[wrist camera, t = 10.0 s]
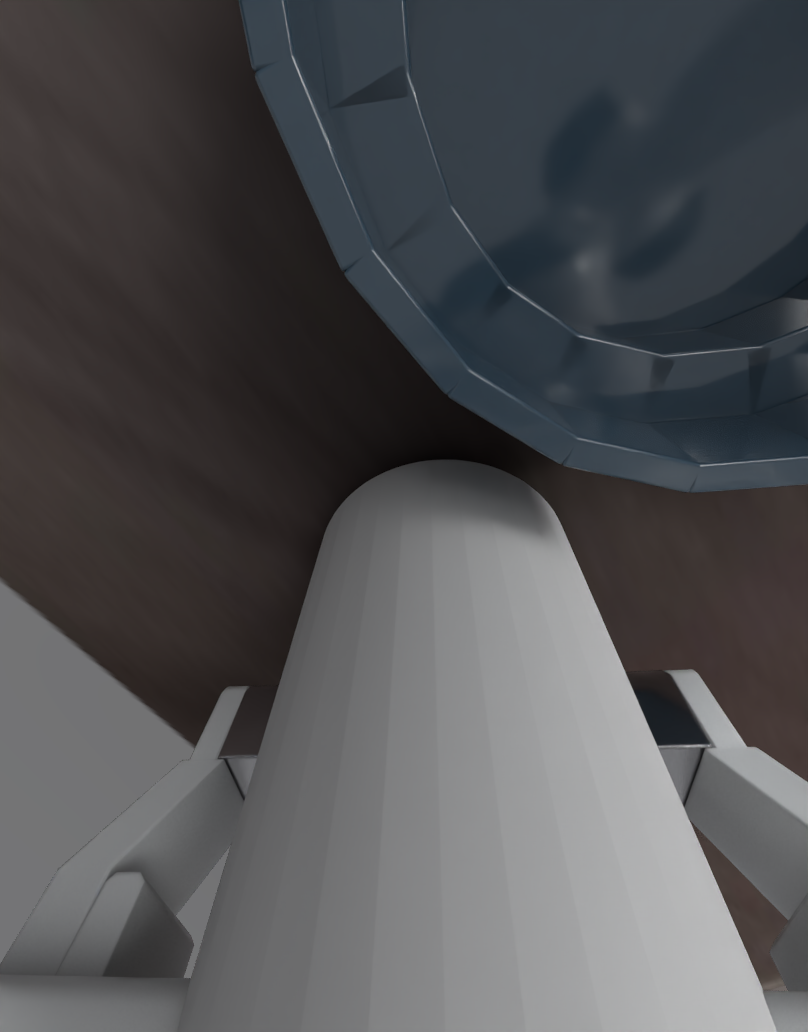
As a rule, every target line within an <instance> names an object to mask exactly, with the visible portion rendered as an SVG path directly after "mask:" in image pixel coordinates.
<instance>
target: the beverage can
mask: <svg viewBox="0 0 808 1032" xmlns="http://www.w3.org/2000/svg"><path fill="white" fill-rule="evenodd" d="M177 1032H777V1030H776V1028H775V1025H774V1023H773V1020H772V1017H771V1015H770V1012H769V1009H768V1007H767V1004H766V1001H765V998H764V995H763V989H762V987H761V984H760V982H759V980H758V977H757V975H756V973H755V970H754V968H753V966H752V964H751V961H750V959H749V957H748V954H747V952H746V950H745V947H744V945H743V943H742V940H741V938H740V936H739V934H738V931H737V929H736V927H735V924H734V922H733V920H732V917H731V915H730V913H729V910H728V908H727V906H726V904H725V901H724V899H723V897H722V894H721V892H720V890H719V887H718V885H717V883H716V880H715V878H714V876H713V874H712V871H711V869H710V867H709V864H708V862H707V860H706V857H705V855H704V853H703V850H702V848H701V846H700V844H699V841H698V839H697V837H696V834H695V832H694V830H693V827H692V825H691V823H690V821H689V818H688V816H687V814H686V811H685V809H684V807H683V804H682V802H681V800H680V797H679V795H678V793H677V791H676V788H675V786H674V784H673V781H672V779H671V777H670V774H669V772H668V770H667V767H666V765H665V763H664V761H663V758H662V756H661V754H660V751H659V749H658V747H657V744H656V742H655V740H654V737H653V735H652V733H651V731H650V728H649V726H648V724H647V721H646V719H645V717H644V714H643V712H642V710H641V707H640V705H639V703H638V701H637V698H636V696H635V694H634V691H633V689H632V687H631V684H630V682H629V680H628V677H627V675H626V673H625V671H624V668H623V666H622V664H621V661H620V659H619V657H618V654H617V652H616V650H615V647H614V645H613V643H612V641H611V638H610V636H609V634H608V631H607V629H606V627H605V624H604V622H603V620H602V617H601V615H600V613H599V611H598V608H597V606H596V604H595V601H594V599H593V597H592V594H591V592H590V590H589V587H588V585H587V583H586V581H585V578H584V576H583V574H582V571H581V569H580V567H579V564H578V562H577V560H576V558H575V555H574V553H573V551H572V548H571V546H570V544H569V541H568V539H567V537H566V534H565V532H564V530H563V528H562V525H561V523H560V521H559V519H558V518H557V516H556V514H555V512H554V511H553V509H552V508H551V506H550V505H549V504H548V503H547V502H546V501H545V499H544V498H543V497H542V496H541V495H540V494H539V493H538V492H537V491H536V490H534V489H533V488H532V487H530V486H529V485H528V484H527V483H525V482H524V481H522V480H520V479H519V478H517V477H515V476H513V475H511V474H509V473H507V472H505V471H502V470H500V469H497V468H494V467H492V466H488V465H484V464H481V463H476V462H470V461H463V460H428V461H421V462H416V463H411V464H407V465H403V466H400V467H397V468H394V469H391V470H389V471H386V472H384V473H382V474H380V475H378V476H376V477H374V478H372V479H371V480H369V481H367V482H366V483H364V484H363V485H362V486H360V487H359V488H358V489H356V490H355V491H354V492H353V493H352V494H351V495H349V496H348V497H347V498H346V500H345V501H344V502H343V503H342V504H341V505H340V507H339V508H338V509H337V510H336V512H335V513H334V515H333V517H332V519H331V520H330V522H329V524H328V526H327V528H326V531H325V534H324V537H323V540H322V544H321V547H320V550H319V554H318V557H317V560H316V564H315V567H314V570H313V574H312V577H311V580H310V584H309V587H308V590H307V594H306V597H305V600H304V604H303V607H302V610H301V614H300V617H299V620H298V624H297V627H296V630H295V634H294V637H293V640H292V644H291V647H290V650H289V654H288V657H287V660H286V664H285V667H284V670H283V673H282V677H281V680H280V683H279V687H278V690H277V693H276V697H275V700H274V703H273V707H272V710H271V713H270V717H269V720H268V723H267V727H266V730H265V733H264V737H263V740H262V743H261V747H260V750H259V753H258V757H257V760H256V763H255V767H254V770H253V773H252V777H251V780H250V783H249V787H248V790H247V793H246V797H245V800H244V803H243V807H242V810H241V813H240V817H239V820H238V823H237V827H236V830H235V833H234V837H233V840H232V843H231V847H230V850H229V853H228V857H227V860H226V863H225V867H224V870H223V873H222V877H221V880H220V883H219V887H218V890H217V893H216V897H215V900H214V903H213V906H212V910H211V913H210V917H209V920H208V923H207V927H206V930H205V933H204V936H203V940H202V943H201V946H200V950H199V953H198V956H197V960H196V963H195V967H194V970H193V973H192V976H191V980H190V983H189V987H188V991H187V995H186V1000H185V1004H184V1007H183V1011H182V1015H181V1018H180V1022H179V1026H178V1030H177Z"/></svg>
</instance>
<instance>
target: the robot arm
mask: <svg viewBox="0 0 808 1032" xmlns="http://www.w3.org/2000/svg"><path fill="white" fill-rule="evenodd" d="M625 673H626V675H627V677H628V680H629V682H630V684H631V687H632V689H633V691H634V694H635V696H636V698H637V701H638V703H639V705H640V707H641V710H642V712H643V714H644V717H645V719H646V721H647V724H648V726H649V728H650V731H651V733H652V735H653V737H654V740H655V742H656V744H657V747H658V749H659V751H660V754H661V756H662V758H663V761H664V763H665V765H666V767H667V770H668V772H669V774H670V777H671V779H672V781H673V784H674V786H675V788H676V791H677V793H678V795H679V797H680V800H681V802H682V804H683V807H684V809H685V811H686V814H687V816H688V818H689V820H690V821H691V822H692V823H693V824H694V825H695V826H696V827H697V828H698V829H699V830H700V831H701V832H702V833H703V834H704V835H705V836H706V837H707V838H708V839H709V840H710V841H711V842H712V843H713V844H714V845H715V846H716V847H717V848H718V849H719V850H720V851H721V852H722V853H723V854H724V855H725V856H726V857H727V858H728V859H729V860H730V861H731V862H732V863H733V864H734V865H735V867H736V868H737V869H738V870H739V871H740V872H741V873H742V874H743V875H744V876H745V877H746V878H747V879H748V880H749V881H750V882H751V883H752V884H753V885H754V886H755V887H756V888H757V889H758V890H759V891H760V892H761V893H762V894H763V895H764V896H765V897H766V898H767V899H768V900H769V901H770V902H771V903H772V904H773V905H774V906H775V907H776V908H777V909H778V910H779V911H780V912H781V913H782V914H783V915H784V916H785V917H786V918H787V919H788V922H787V924H786V925H785V927H784V928H783V929H782V931H781V932H780V934H779V935H778V937H777V938H776V940H775V941H774V942H773V945H772V947H771V950H770V952H769V953H770V955H771V957H772V959H773V961H774V963H775V965H776V967H777V969H778V971H779V973H780V975H781V977H782V979H783V981H784V983H785V986H786V988H787V990H788V991H766V990H763V995H764V998H765V1001H766V1004H767V1007H768V1009H769V1012H770V1015H771V1017H772V1020H773V1023H774V1025H775V1028H776V1030H777V1032H808V782H806V781H805V780H804V779H802V778H801V777H799V776H798V775H796V774H795V773H793V772H792V771H790V770H789V769H787V768H786V767H785V766H783V765H782V764H780V763H779V762H777V761H776V760H774V759H773V758H771V757H770V756H768V755H767V754H765V753H764V752H763V751H761V750H760V749H758V748H757V747H747V746H746V745H745V743H744V742H743V740H742V739H741V737H740V736H739V734H738V733H737V731H736V730H735V728H734V727H733V725H732V724H731V722H730V721H729V719H728V718H727V716H726V715H725V713H724V712H723V710H722V709H721V707H720V706H719V704H718V703H717V701H716V700H715V698H714V697H713V695H712V694H711V692H710V691H709V689H708V688H707V686H706V685H705V683H704V682H703V680H702V679H701V677H700V676H699V674H698V673H697V672H695V671H694V670H692V669H689V670H665V671H662V670H654V671H634V672H625ZM278 687H279V685H272V686H228V687H227V688H226V689H225V690H224V691H223V692H222V693H221V695H220V697H219V699H218V701H217V703H216V705H215V707H214V709H213V712H212V714H211V716H210V718H209V720H208V722H207V724H206V726H205V728H204V730H203V732H202V735H201V737H200V739H199V741H198V743H197V745H196V747H195V749H194V751H193V754H192V756H191V758H190V760H182V761H181V762H180V763H179V764H177V765H176V766H175V767H174V768H173V769H172V770H171V771H169V772H168V773H167V774H166V775H165V776H164V777H163V778H161V779H160V780H159V781H158V782H157V783H156V784H155V785H154V786H152V787H151V788H150V789H149V790H148V791H147V792H146V793H144V794H143V795H142V796H141V797H140V798H139V799H137V801H135V802H134V803H133V804H132V805H131V806H130V807H128V808H127V809H126V810H125V811H124V812H123V813H122V814H120V815H119V816H118V817H117V818H116V819H115V820H113V821H112V822H111V823H110V824H109V825H108V826H107V827H105V828H104V829H103V830H102V831H101V832H100V833H99V834H97V835H96V836H95V837H94V838H93V839H92V840H91V841H89V842H88V843H87V844H86V845H85V846H84V847H83V848H81V849H80V850H79V851H78V852H77V853H76V854H75V855H73V856H72V857H71V858H70V859H69V860H68V861H67V862H65V864H63V865H62V866H61V867H60V868H59V869H58V870H57V872H56V873H55V875H54V877H53V878H52V880H51V882H50V883H49V885H48V886H47V888H46V890H45V891H44V893H43V895H42V896H41V898H40V900H39V901H38V903H37V905H36V906H35V908H34V909H33V911H32V913H31V914H30V916H29V918H28V919H27V921H26V923H25V924H24V926H23V928H22V929H21V931H20V933H19V934H18V936H17V938H16V939H15V941H14V943H13V944H12V946H11V947H10V949H9V951H8V952H7V954H6V956H5V957H4V959H3V961H2V962H1V964H0V1032H177V1030H178V1026H179V1022H180V1018H181V1015H182V1011H183V1007H184V1004H185V1000H186V995H187V991H188V987H189V983H190V980H191V978H183V977H184V974H185V971H186V968H187V965H188V962H189V959H190V956H191V953H192V949H193V946H194V943H193V940H192V937H191V935H190V934H189V932H188V931H187V930H186V929H185V927H184V926H183V925H182V924H181V922H180V921H179V920H178V919H177V917H176V915H177V913H178V912H179V911H180V910H181V908H182V907H183V906H184V905H185V903H186V902H187V901H188V899H189V898H190V897H191V895H192V894H193V893H194V892H195V890H196V889H197V888H198V886H199V885H200V884H201V883H202V881H203V880H204V879H205V878H206V876H207V875H208V874H209V872H210V871H211V870H212V869H213V867H214V866H215V865H216V863H217V862H218V861H219V859H220V858H221V857H222V855H223V854H224V853H225V852H226V851H227V849H228V848H229V846H230V845H231V843H232V840H233V837H234V833H235V830H236V827H237V823H238V820H239V817H240V813H241V810H242V807H243V803H244V800H245V797H246V793H247V790H248V787H249V783H250V780H251V777H252V773H253V770H254V767H255V763H256V760H257V757H258V753H259V750H260V747H261V743H262V740H263V737H264V733H265V730H266V727H267V723H268V720H269V717H270V713H271V710H272V707H273V703H274V700H275V697H276V693H277V690H278Z"/></svg>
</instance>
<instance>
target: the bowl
mask: <svg viewBox="0 0 808 1032" xmlns="http://www.w3.org/2000/svg"><path fill="white" fill-rule="evenodd" d="M238 3H239V8H240V13H241V18H242V23H243V28H244V33H245V38H246V43H247V49H248V54H249V59H250V64H251V67H252V69H253V71H254V72H255V73H256V74H255V79H256V83H257V85H258V87H259V90H260V92H261V94H262V96H263V99H264V101H265V103H266V105H267V107H268V110H269V112H270V114H271V116H272V119H273V121H274V123H275V125H276V128H277V130H278V132H279V134H280V136H281V139H282V141H283V143H284V145H285V148H286V150H287V152H288V154H289V156H290V159H291V161H292V163H293V165H294V168H295V170H296V172H297V174H298V177H299V179H300V181H301V183H302V185H303V188H304V190H305V192H306V194H307V197H308V199H309V201H310V203H311V206H312V208H313V210H314V212H315V214H316V217H317V219H318V221H319V223H320V226H321V228H322V230H323V232H324V235H325V237H326V239H327V241H328V243H329V246H330V248H331V250H332V252H333V255H334V257H335V259H336V261H337V264H338V266H339V268H340V269H341V270H342V271H345V273H344V275H345V278H346V279H347V280H348V281H349V282H350V284H351V285H352V286H353V287H354V288H355V290H356V291H357V292H358V293H359V294H360V295H361V297H362V298H363V299H364V300H365V301H366V303H367V304H368V305H369V306H370V307H371V308H372V310H373V311H374V312H375V313H376V314H377V316H378V317H379V318H380V319H381V320H382V321H383V323H384V324H385V325H386V326H387V327H388V329H389V330H390V331H391V332H392V333H393V334H394V336H395V337H396V338H397V339H398V340H399V342H400V343H401V344H402V345H403V346H404V347H405V349H406V350H407V351H408V352H409V353H410V355H411V356H412V357H413V358H414V359H415V360H416V362H417V363H418V364H419V365H420V366H421V367H422V369H423V370H424V371H425V372H426V373H427V375H428V376H429V377H430V378H431V379H432V380H433V382H434V383H435V384H436V385H437V386H438V388H439V389H440V390H441V391H442V392H443V393H445V394H447V396H448V397H449V398H450V399H451V400H453V401H455V402H456V403H458V404H460V405H461V406H463V407H465V408H466V409H468V410H470V411H471V412H473V413H475V414H476V415H478V416H480V417H481V418H483V419H485V420H486V421H488V422H490V423H491V424H493V425H494V426H496V427H498V428H499V429H501V430H503V431H504V432H506V433H508V434H509V435H511V436H513V437H514V438H516V439H518V440H519V441H521V442H523V443H524V444H526V445H528V446H529V447H531V448H533V449H534V450H536V451H538V452H539V453H541V454H543V455H544V456H546V457H547V458H549V459H551V460H552V461H554V462H556V463H558V464H562V465H563V466H566V467H570V468H575V469H580V470H584V471H589V472H593V473H598V474H602V475H607V476H612V477H616V478H621V479H625V480H630V481H634V482H639V483H643V484H648V485H653V486H657V487H662V488H666V489H671V490H675V491H680V492H685V493H686V492H691V493H701V492H714V491H728V490H742V489H756V488H770V487H784V486H798V485H808V0H238Z"/></svg>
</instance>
